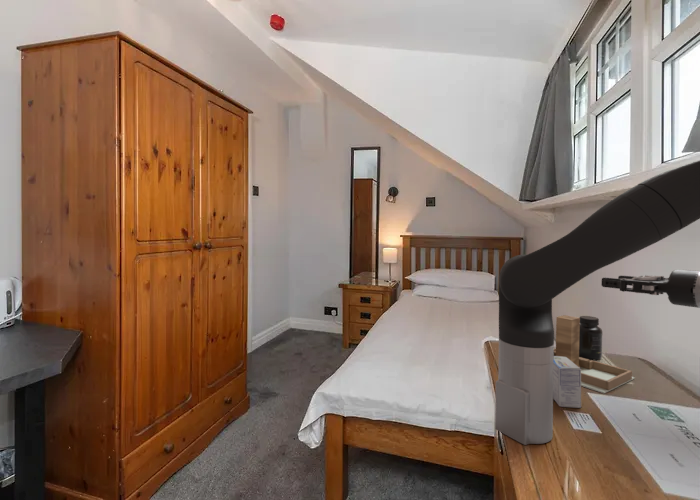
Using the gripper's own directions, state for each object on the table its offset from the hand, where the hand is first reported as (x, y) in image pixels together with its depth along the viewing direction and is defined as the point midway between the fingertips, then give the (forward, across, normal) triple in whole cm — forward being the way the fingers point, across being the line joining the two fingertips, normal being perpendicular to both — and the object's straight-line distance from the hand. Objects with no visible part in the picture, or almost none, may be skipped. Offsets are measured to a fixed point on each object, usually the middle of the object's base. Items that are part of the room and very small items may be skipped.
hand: (610, 280), depth 84 cm
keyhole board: (+8, -2, +26) cm, 27 cm away
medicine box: (+2, +17, +26) cm, 31 cm away
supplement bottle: (+13, -18, +26) cm, 34 cm away
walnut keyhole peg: (+11, -2, +25) cm, 28 cm away
